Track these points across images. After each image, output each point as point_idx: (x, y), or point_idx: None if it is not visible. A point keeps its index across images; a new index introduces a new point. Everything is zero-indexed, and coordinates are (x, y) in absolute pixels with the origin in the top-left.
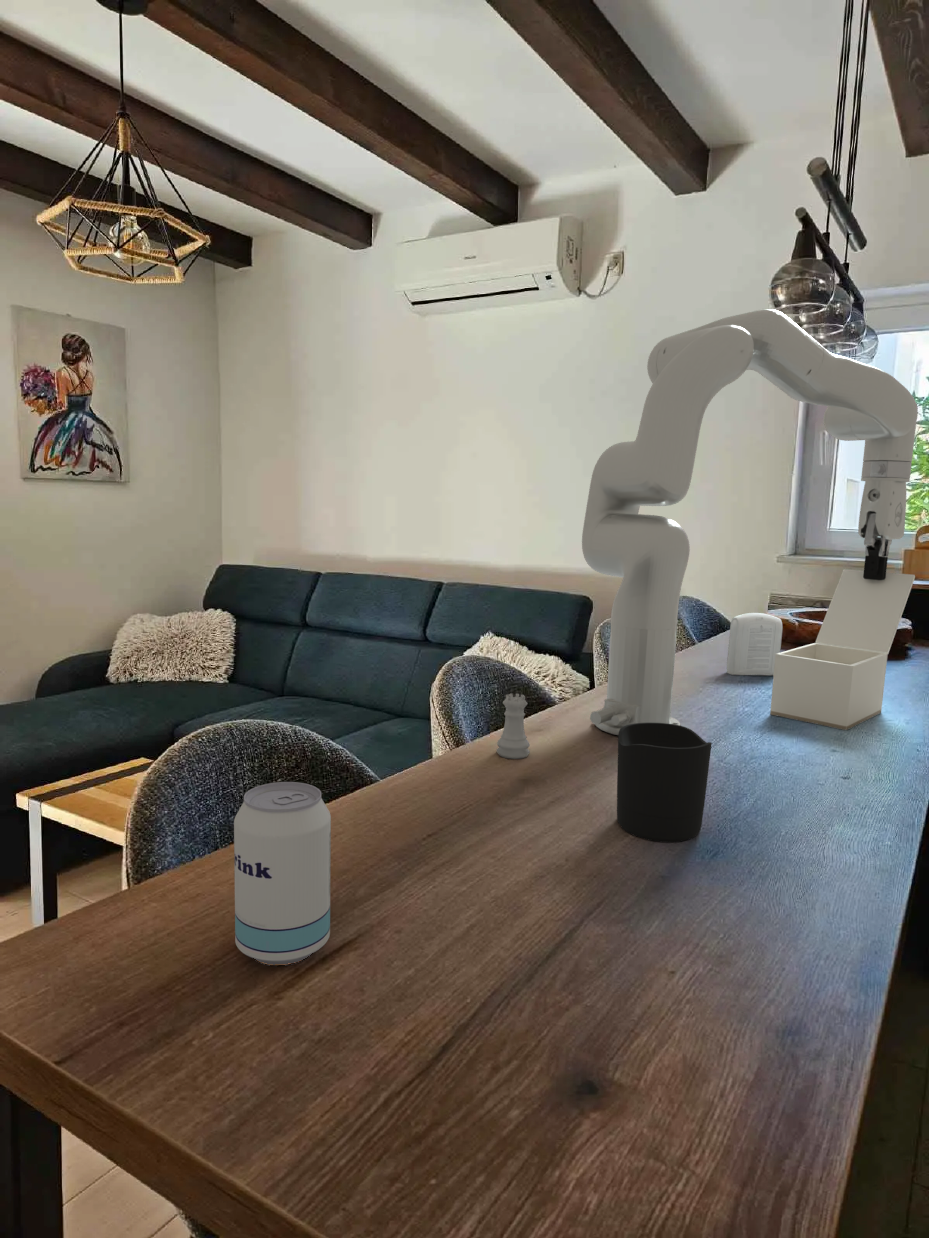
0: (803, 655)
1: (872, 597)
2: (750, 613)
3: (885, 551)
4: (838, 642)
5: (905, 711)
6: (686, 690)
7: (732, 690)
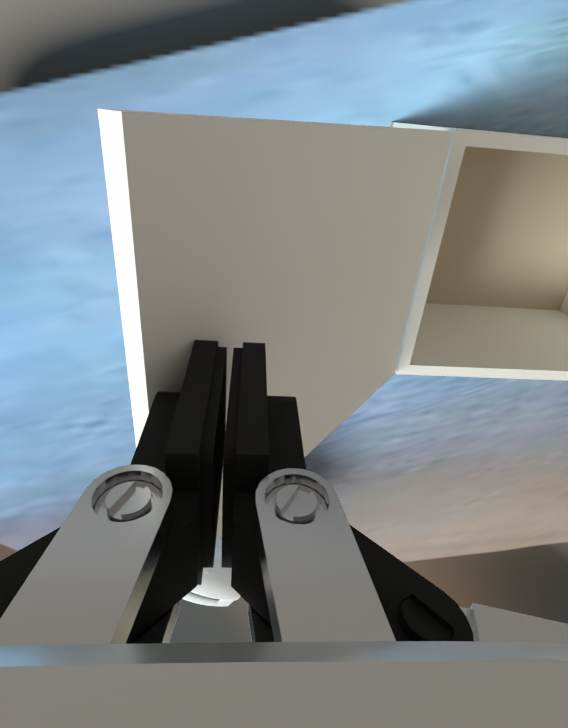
0: (490, 356)
1: (297, 322)
2: (194, 597)
3: (161, 525)
4: (404, 313)
5: (325, 66)
6: (444, 478)
7: (387, 431)
